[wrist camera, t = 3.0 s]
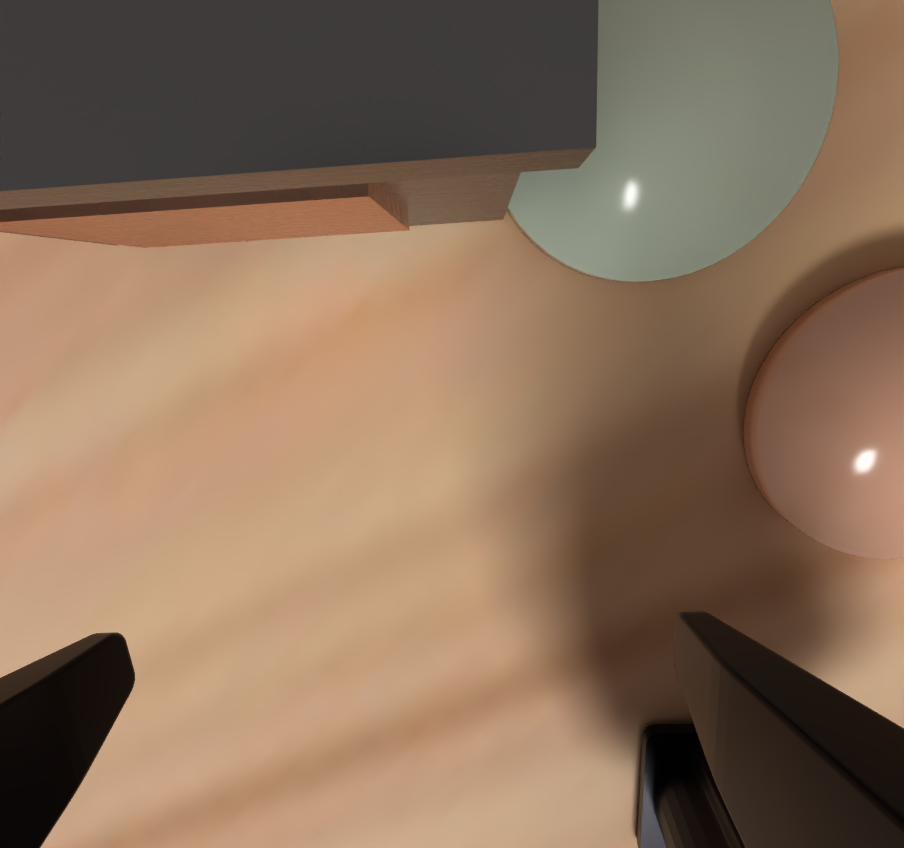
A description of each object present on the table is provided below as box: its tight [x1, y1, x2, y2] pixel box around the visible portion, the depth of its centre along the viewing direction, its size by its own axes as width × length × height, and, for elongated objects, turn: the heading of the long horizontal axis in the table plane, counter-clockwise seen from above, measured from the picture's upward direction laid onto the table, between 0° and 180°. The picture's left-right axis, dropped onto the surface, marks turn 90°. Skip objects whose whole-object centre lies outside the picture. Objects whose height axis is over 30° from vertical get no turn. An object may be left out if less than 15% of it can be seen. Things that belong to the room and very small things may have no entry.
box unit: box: [0, 0, 599, 248], centre depth 10 cm, size 6×13×10 cm, turn 93°
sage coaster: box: [506, 0, 839, 282], centre depth 14 cm, size 9×9×1 cm
